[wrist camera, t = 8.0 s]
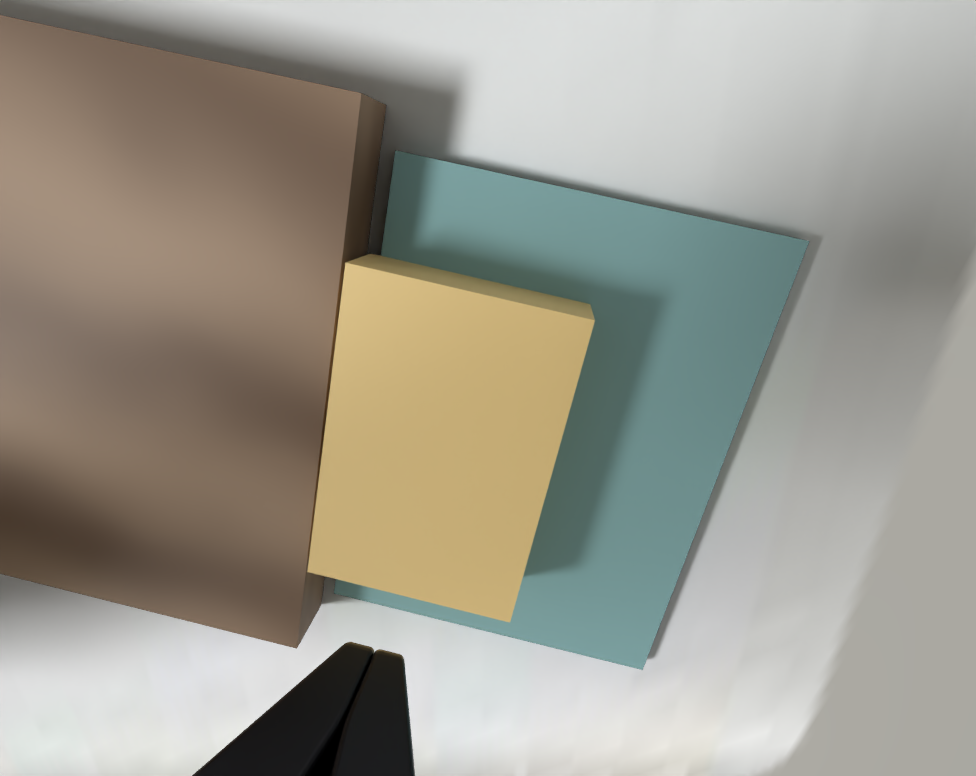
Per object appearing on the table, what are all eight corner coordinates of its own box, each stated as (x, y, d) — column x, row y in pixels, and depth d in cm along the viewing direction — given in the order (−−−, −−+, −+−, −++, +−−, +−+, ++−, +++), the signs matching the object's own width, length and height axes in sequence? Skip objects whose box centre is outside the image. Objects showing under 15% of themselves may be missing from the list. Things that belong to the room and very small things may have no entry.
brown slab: (321, 605, 20) (296, 648, 18) (-6, 524, 21) (-62, 557, 19) (386, 104, 15) (360, 93, 13) (-61, 8, 15) (-148, -18, 13)
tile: (514, 578, 18) (510, 622, 17) (332, 532, 19) (307, 571, 17) (590, 303, 15) (594, 320, 13) (370, 253, 16) (345, 262, 14)
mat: (641, 660, 19) (642, 670, 19) (338, 585, 20) (333, 593, 19) (802, 239, 15) (809, 240, 14) (399, 151, 15) (395, 150, 15)
